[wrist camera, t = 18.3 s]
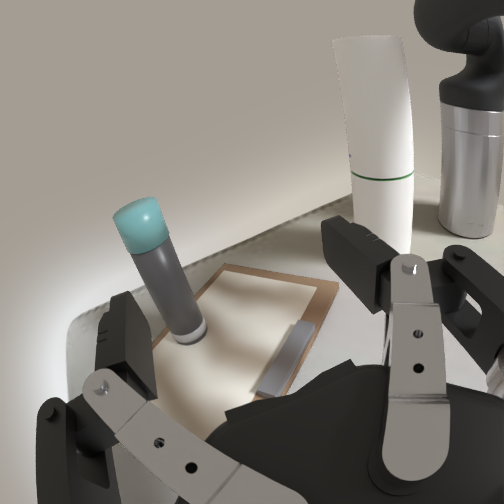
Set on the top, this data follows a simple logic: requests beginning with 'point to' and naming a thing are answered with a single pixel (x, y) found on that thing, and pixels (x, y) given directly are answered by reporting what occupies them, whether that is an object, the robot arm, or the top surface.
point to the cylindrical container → (378, 134)
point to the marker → (160, 268)
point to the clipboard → (240, 344)
